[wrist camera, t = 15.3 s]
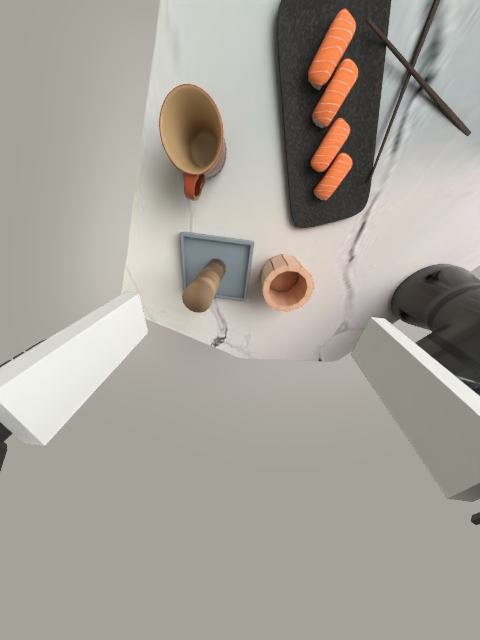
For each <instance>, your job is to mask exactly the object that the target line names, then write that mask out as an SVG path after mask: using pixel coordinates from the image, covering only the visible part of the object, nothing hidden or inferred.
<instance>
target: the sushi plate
mask: <svg viewBox="0 0 480 640" xmlns="http://www.w3.org/2000/svg"><path fill="white" fill-rule="evenodd" d="M439 2H440V0H435V1H434V4H433V6H432V9H431V11H430V14H429V16H428V19H427V22H426V24H425V27H424V30H423V32H422V35H421V38H420V41H419V44H418V46H417V49H416V52H415V55H414V57H413V60H412V63H411V65H410V64H409V63H408V62H407V60H406V59H405V58H404V57H403V56H402V55H401V54H400V52H399V51H398V50H397V49H396V48H395V47H394V46H393V44H392V43H391V42H390V41H389V40H388V39H387V35H388V26H389V17H390V7H391V0H281V3H280V7H279V13H278V28H277V29H278V54H279V68H280V81H281V94H282V106H283V119H284V131H285V144H286V156H287V169H288V181H289V194H290V205H291V213H292V218H293V221H294V223H295V225H296V226H298V227H301V228H308V227H314V226H318V225H323V224H327V223H331V222H335V221H338V220H342V219H346V218H349V217H352V216H354V215H356V214H358V213H359V212H361V211H362V210H363V209H364V207H365V206H366V203H367V201H368V197H369V193H370V187H371V180H372V175H373V173H374V170H375V168H376V165H377V162H378V160H379V157H380V155H381V152H382V149H383V147H384V144H385V141H386V139H387V136H388V134H389V131H390V128H391V126H392V123H393V121H394V118H395V115H396V113H397V110H398V107H399V105H400V102H401V100H402V97H403V94H404V92H405V89H406V87H407V84H408V82H409V79H410V76H411V75H412V76H413V77H414V78H415V79H416V81H417V82H418V83H419V84H420V85H421V87H422V88H423V89H424V90H425V91H426V93H427V94H428V95H429V96H430V97H431V99H432V100H433V101H434V102H435V104H436V105H437V106H438V107H439V108H440V110H441V111H442V112H443V113H444V114H445V116H446V117H447V118H448V119H449V120H451V121H452V122H453V123H454V124H455V125H456V126H457V127H458V128H459V129H460V130H461V131H462V132H463V133H464V134H465V135H467V136H469V135H470V134H471V131H470V130H469V129H468V128H467V127H466V126H465V125H464V123H463V122H462V121H461V120H460V119H459V118H458V117H457V116H456V114H455V113H454V112H453V111H452V110H451V109H450V108H449V107H448V106H447V104H446V103H445V102H444V101H443V100H442V99H441V98H440V97H439V96H438V95H437V94H436V93H435V92H434V90H433V89H432V88H431V87H430V86H429V85H428V84H427V83H426V82H425V81H424V80H423V78H422V77H421V76H420V75H419V74H418V73H417V72H416V71H415V69H414V66H415V64H416V61H417V58H418V56H419V53H420V51H421V48H422V46H423V43H424V41H425V38H426V35H427V33H428V30H429V28H430V25H431V23H432V20H433V18H434V15H435V12H436V10H437V7H438V5H439ZM386 46H387V47H388V48H389V49H390V50H391V51H392V53H393V54H394V55H395V56H396V57H397V58H398V60H399V61H400V62H401V63H402V64H403V65H404V67H405V68H406V69H407V70H408V74H407V77H406V80H405V82H404V85H403V88H402V91H401V93H400V96H399V99H398V102H397V104H396V107H395V110H394V113H393V115H392V118H391V121H390V123H389V126H388V129H387V131H386V134H385V137H384V140H383V142H382V145H381V148H380V150H379V153H378V156H377V159H376V161H375V164H374V167H373V163H374V153H375V144H376V135H377V126H378V117H379V108H380V99H381V90H382V81H383V72H384V63H385V54H386Z"/></svg>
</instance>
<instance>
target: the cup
mask: <svg viewBox="0 0 480 640" xmlns="http://www.w3.org/2000/svg"><path fill="white" fill-rule="evenodd" d="M261 284H262V292H263V295H264V298H265V301H266V303H267V304H268V305H270V306H271V307H272V308H274V309H275V310H279V311H286V312H288V311H292V310H295V309H298V308H300V307H302V306H303V305H304V304H305V303H306V302H307V301H308V300H309V298H310V297H311V295H312V292H313V289H314V283H313V279H312V275H311V273H310V272H309V271H308V270H307V269H306V268H305V267H304V266H303V265H302V264H301V262H299V261H298V260H297V259H296V258H295V257H294V256H292V255H284V254H282V255H281V254H280V255H278V256H275V257H273V258H271V260H270V259H269V261H268V262H267V263H266V264H265V266H264V267H263V269H262V274H261ZM299 306H300V307H299Z"/></svg>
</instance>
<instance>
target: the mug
mask: <svg viewBox="0 0 480 640" xmlns="http://www.w3.org/2000/svg"><path fill="white" fill-rule="evenodd" d="M159 128H160V136H161V140H162V144H163V147H164V149H165V151H166V153H167V155H168V157H169V158H170V160H171V161H172V163H173V164H174V165H175V166H176V167H177V168H178V169H179V170H181V171H183V176H184V192H185V196H186V198H187V199H189V200H192V201H196V200H198V198H199V197H200V194H201V191H202V188H203V186H204V183H205V179H206V178H212V177H214V176H216V175H217V174H218V173H219V172H220V171H221V170H222V168H223V166H224V163H225V160H226V143H225V139H224V137H223V125H222V120H221V116H220V113H219V111H218V108H217V106H216V104H215V103H214V101H213V100H212V98H211V97H210V96H209V95H208V94H207V93H206V92H205V91H204V90H203V89H201V88H199V87H197V86H195V85H191V84H183V85H180V86H177V87H175V88H174V89H173V90H172V91H171V92H170V93H169V94H168V95H167V97H166V98H165V100H164V102H163V105H162V108H161V112H160V119H159Z"/></svg>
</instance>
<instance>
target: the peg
mask: <svg viewBox="0 0 480 640" xmlns="http://www.w3.org/2000/svg"><path fill="white" fill-rule="evenodd" d="M225 272H226V266H225V263H224V262H223V261H222V260H220V259H212V260H211V261H210V262H209V263H208V264H207V265H206V266H205V267H204V269H203V270H202V271H201V272H200V273H199V274H198V276H197V277H196V278H195V279H194V280H193V281H192V282H191V284H190V285H189V286H188V287H187V288H186V289H185V291H184V292H183V295H182V299H183V303H184V304H185V306H186V307H187V308H188V309H189V310H191V311H193V312H204V311H206V310H207V309H208V308H209V307H210V305H211V303H212V300H213V298H214V296H215V294H216V292H217V289H218V287H219V285H220V283H221V281H222V278H223V276H224V274H225Z"/></svg>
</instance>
